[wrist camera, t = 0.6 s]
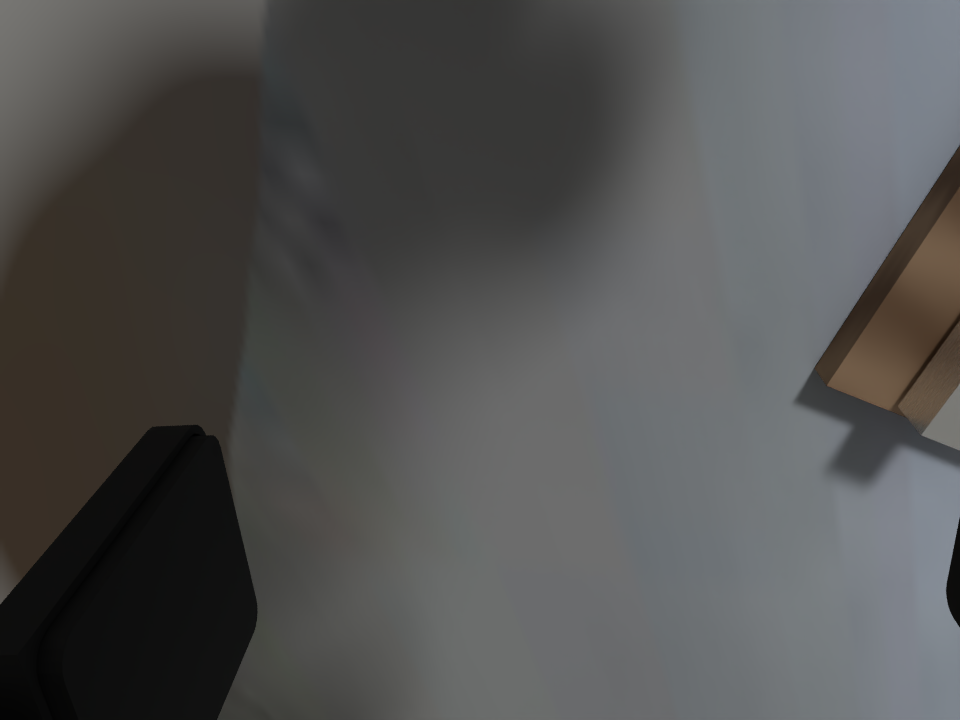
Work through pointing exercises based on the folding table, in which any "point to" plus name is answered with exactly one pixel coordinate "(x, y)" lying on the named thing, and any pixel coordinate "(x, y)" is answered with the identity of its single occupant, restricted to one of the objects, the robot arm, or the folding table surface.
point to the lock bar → (938, 395)
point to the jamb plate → (903, 305)
